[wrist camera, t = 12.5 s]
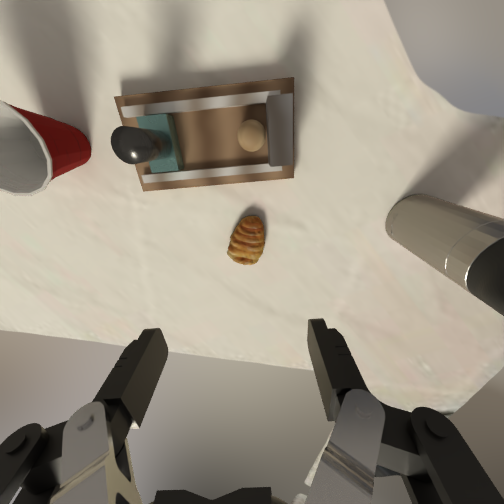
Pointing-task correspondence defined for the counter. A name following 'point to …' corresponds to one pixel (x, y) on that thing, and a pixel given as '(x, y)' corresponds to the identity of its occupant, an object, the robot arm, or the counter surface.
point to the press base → (220, 132)
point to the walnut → (251, 135)
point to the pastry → (247, 241)
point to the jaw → (149, 143)
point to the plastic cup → (36, 150)
